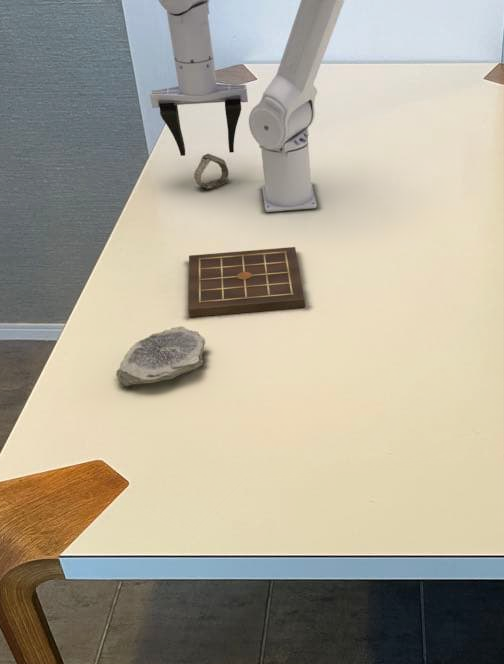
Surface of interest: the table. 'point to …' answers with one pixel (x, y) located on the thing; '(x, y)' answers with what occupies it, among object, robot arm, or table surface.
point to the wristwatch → (202, 166)
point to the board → (244, 282)
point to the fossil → (162, 357)
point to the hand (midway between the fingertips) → (207, 151)
